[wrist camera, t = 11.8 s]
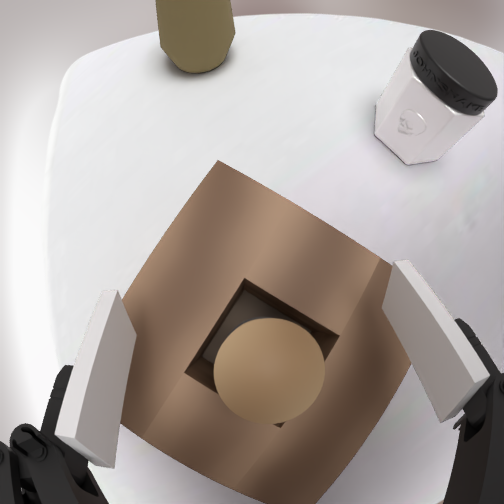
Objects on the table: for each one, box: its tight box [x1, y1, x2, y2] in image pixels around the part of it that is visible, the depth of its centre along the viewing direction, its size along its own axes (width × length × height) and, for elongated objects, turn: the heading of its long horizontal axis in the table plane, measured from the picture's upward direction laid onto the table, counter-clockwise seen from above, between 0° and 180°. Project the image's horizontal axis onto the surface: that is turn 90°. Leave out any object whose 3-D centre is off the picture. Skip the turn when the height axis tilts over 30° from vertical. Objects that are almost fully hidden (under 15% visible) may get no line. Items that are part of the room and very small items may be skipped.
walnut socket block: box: [120, 160, 440, 504], centre depth 19 cm, size 16×16×8 cm
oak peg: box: [214, 317, 325, 424], centre depth 16 cm, size 4×4×12 cm
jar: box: [374, 30, 497, 165], centre depth 22 cm, size 9×8×12 cm
